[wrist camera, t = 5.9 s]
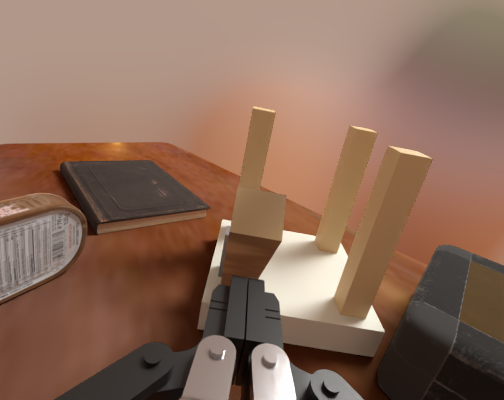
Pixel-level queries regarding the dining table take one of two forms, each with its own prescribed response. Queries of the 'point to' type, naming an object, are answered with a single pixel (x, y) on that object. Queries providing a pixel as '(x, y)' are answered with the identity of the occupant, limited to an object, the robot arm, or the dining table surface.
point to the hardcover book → (129, 194)
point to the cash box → (450, 333)
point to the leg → (253, 233)
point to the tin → (37, 241)
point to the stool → (332, 245)
